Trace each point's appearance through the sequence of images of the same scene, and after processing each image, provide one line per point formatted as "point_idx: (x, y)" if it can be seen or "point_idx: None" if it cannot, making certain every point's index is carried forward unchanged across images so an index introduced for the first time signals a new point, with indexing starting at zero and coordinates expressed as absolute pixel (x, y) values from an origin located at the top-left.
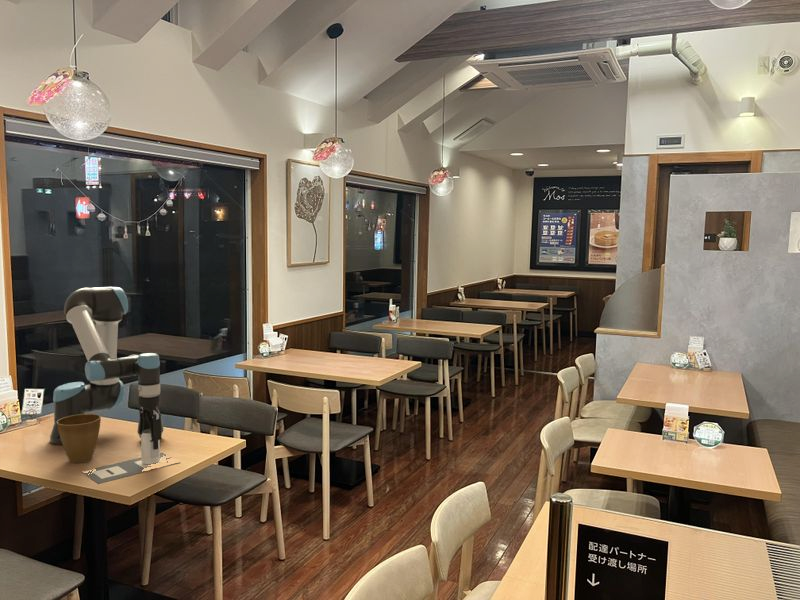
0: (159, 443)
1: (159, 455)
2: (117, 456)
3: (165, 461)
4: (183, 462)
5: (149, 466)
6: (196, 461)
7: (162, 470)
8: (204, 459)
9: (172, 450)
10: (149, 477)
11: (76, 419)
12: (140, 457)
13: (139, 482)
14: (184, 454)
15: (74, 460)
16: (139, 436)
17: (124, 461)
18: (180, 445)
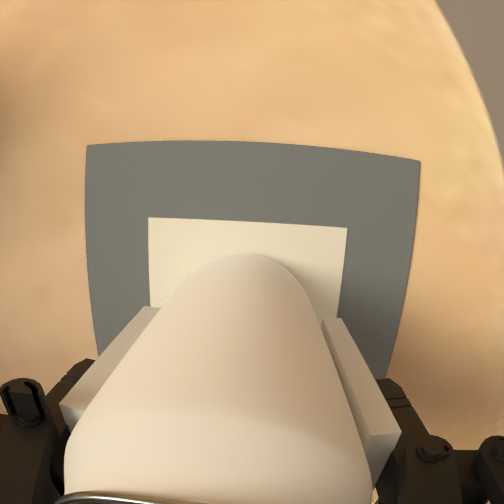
0: (304, 337)
1: (297, 288)
2: (19, 370)
3: (315, 230)
4: (421, 142)
5: None
6: (455, 78)
7: (439, 326)
8: (449, 29)
9: (100, 65)
10: (451, 408)
11: None
12: (92, 311)
13: (452, 446)
14: (255, 34)
15: None
16: None
17: None
18: (64, 3)
